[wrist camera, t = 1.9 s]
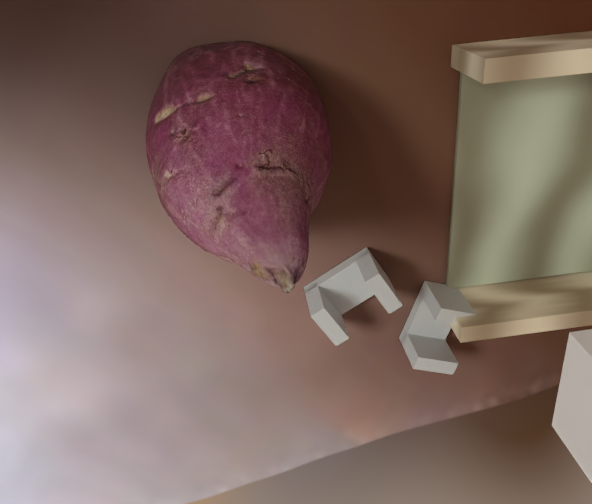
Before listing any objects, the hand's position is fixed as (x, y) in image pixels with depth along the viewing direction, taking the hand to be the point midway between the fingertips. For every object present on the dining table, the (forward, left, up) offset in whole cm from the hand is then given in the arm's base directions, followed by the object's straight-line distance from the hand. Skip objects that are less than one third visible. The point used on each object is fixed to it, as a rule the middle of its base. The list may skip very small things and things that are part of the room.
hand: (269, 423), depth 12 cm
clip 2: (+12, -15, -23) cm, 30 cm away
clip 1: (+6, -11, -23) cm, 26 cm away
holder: (+21, -5, -23) cm, 31 cm away
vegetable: (0, 0, -23) cm, 23 cm away
